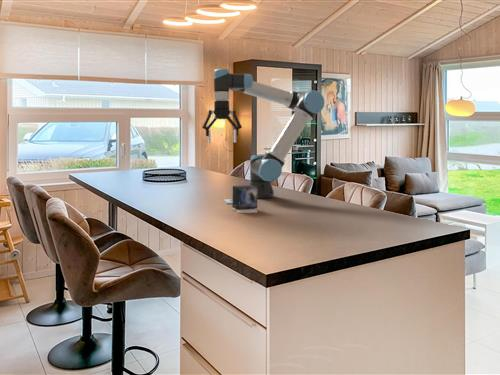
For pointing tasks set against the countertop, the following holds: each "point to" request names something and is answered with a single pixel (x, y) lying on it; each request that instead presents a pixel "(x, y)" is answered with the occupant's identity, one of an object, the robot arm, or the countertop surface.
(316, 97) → the robot arm
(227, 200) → the pad
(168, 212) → the countertop surface
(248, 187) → the small box
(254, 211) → the pad
